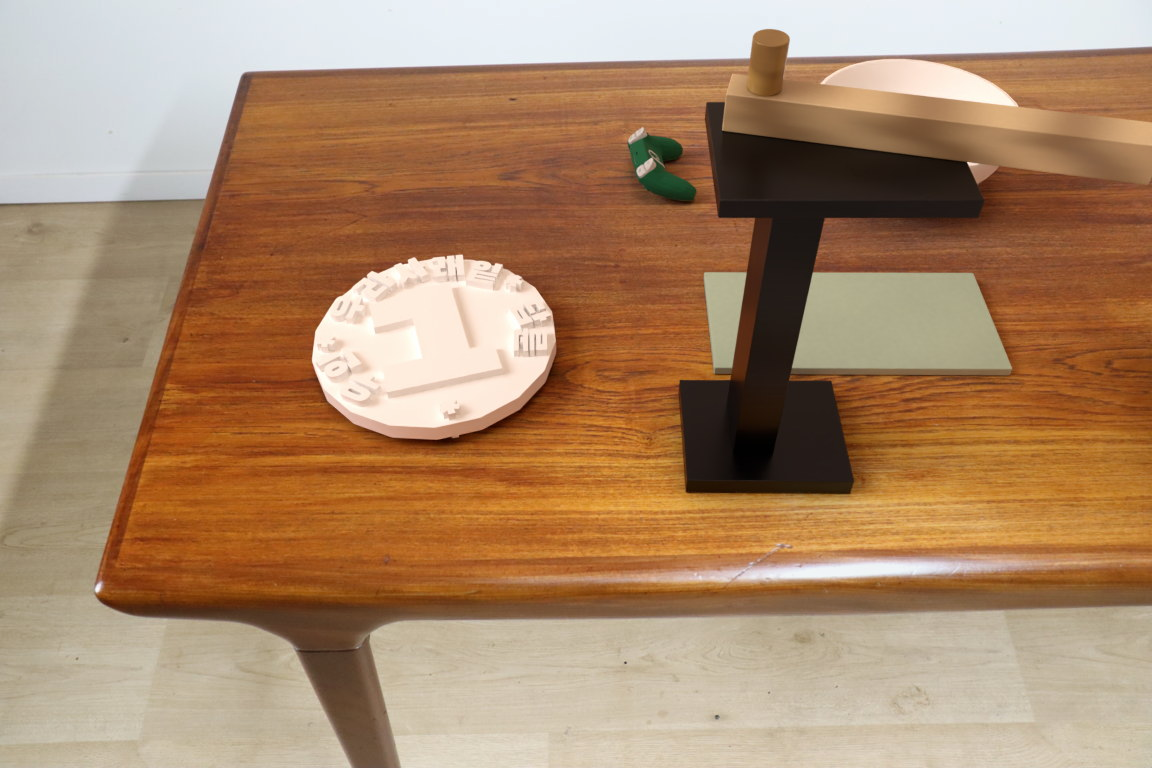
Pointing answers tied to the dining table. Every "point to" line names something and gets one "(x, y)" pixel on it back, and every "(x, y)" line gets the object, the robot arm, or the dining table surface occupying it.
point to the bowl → (924, 86)
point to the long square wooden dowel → (930, 123)
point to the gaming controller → (658, 165)
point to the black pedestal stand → (793, 302)
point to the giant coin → (434, 348)
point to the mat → (874, 325)
